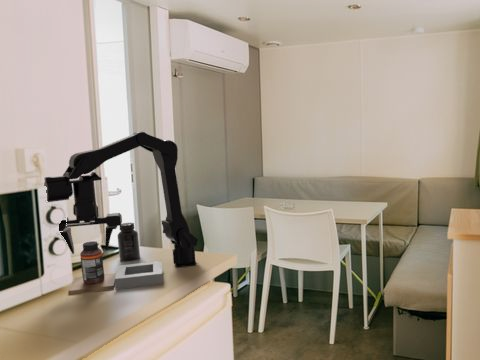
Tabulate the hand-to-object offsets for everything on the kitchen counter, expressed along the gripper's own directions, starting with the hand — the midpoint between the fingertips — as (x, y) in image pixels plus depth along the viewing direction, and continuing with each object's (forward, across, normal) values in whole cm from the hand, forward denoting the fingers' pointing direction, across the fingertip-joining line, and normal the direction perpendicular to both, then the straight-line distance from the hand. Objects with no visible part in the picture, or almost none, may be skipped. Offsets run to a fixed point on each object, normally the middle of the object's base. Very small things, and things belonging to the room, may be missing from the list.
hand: (90, 251), depth 135 cm
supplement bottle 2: (+10, -9, -25) cm, 29 cm away
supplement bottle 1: (+9, 0, 0) cm, 9 cm away
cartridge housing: (+10, -13, 0) cm, 16 cm away
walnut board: (+10, 0, 0) cm, 10 cm away
